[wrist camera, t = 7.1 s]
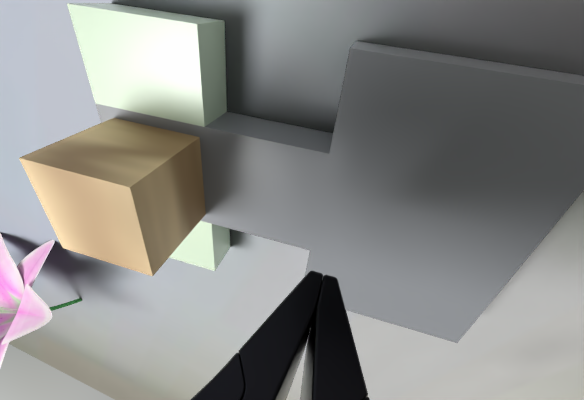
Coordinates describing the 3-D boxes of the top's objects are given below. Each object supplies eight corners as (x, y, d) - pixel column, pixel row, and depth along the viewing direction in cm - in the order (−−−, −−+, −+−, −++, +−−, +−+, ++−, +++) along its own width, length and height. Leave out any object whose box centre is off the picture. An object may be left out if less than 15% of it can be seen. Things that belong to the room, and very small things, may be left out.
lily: (139, 268, 24) (-23, 318, 16) (104, 374, 27) (-49, 466, 18) (59, 201, 28) (-104, 210, 20) (36, 299, 31) (-115, 345, 22)
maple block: (199, 137, 12) (129, 187, 9) (205, 214, 14) (152, 276, 11) (113, 117, 12) (18, 157, 9) (133, 194, 15) (62, 247, 12)
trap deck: (612, 79, 9) (660, 96, 7) (450, 309, 16) (457, 343, 14) (110, 3, 12) (67, 3, 10) (158, 226, 19) (136, 247, 17)
